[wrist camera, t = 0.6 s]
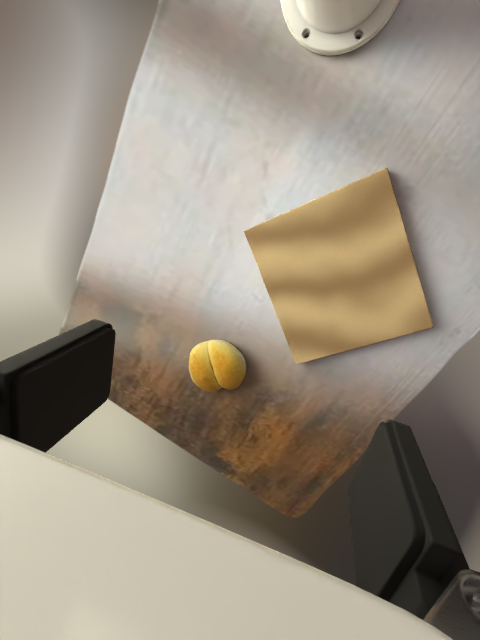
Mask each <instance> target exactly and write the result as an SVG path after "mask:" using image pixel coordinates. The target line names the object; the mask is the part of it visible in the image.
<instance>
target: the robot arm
mask: <svg viewBox="0 0 480 640" xmlns="http://www.w3.org/2000/svg"><path fill="white" fill-rule="evenodd" d="M399 1H400V0H281V6H282V11H283V15H284V18H285V21H286V25H287V27H288V28H289V30H290V32H291V34H292V36H293V37H294V38H295V39H296V40H297V41H298V42H299V44H301V45H302V46H303V47H305V48H306V49H308V50H310V51H312V52H314V53H317V54H322V55H340V54H344V53H347V52H350V51H353V50H355V49H357V48H359V47H361V46H362V45H364V44H365V43H367V42H368V41H369V40H371V39H372V38H373V37H374V36H375V35H376V34H377V33H378V32H379V31H380V30H381V29H382V28H383V27H384V26H385V24H386V23H387V22H388V20H389V19H390V17H391V16H392V15H393V13H394V11H395V9H396V7H397V5H398V3H399ZM306 35H307V36H309V37H308V38H306V39H305V38H304V37H305V36H306ZM357 36H360V38H361V39H356V37H357ZM114 344H115V330H113V328H112V325H111V324H108V323H105V322H102V321H99V320H96V319H94V320H91V321H89V322H87V323H85V324H83V325H80V326H78V327H76V328H74V329H72V330H69V331H67V332H65V333H63V334H61V335H58V336H56V337H54V338H52V339H49V340H47V341H45V342H43V343H41V344H38V345H36V346H34V347H32V348H30V349H27V350H25V351H23V352H21V353H19V354H16V355H14V356H12V357H10V358H7V359H5V360H3V361H1V362H0V640H480V572H476V571H473V570H470V569H469V567H468V564H467V562H466V559H465V557H464V554H463V552H462V550H461V547H460V545H459V542H458V540H457V537H456V535H455V533H454V530H453V528H452V525H451V523H450V520H449V519H448V516H447V513H446V511H445V508H444V506H443V503H442V501H441V499H440V496H439V494H438V491H437V489H436V486H435V485H434V483H433V481H432V479H431V476H430V474H429V471H428V469H427V467H426V464H425V462H424V459H423V457H422V455H421V452H420V449H419V447H418V445H417V442H416V440H415V437H414V435H413V432H412V430H411V428H410V426H408V425H405V424H402V423H399V422H396V421H393V420H388V421H387V422H386V423H385V422H381V423H380V424H379V426H378V428H377V430H376V432H375V434H374V436H373V438H372V440H371V442H370V444H369V446H368V448H367V450H366V452H365V454H364V456H363V458H362V460H361V462H360V465H359V467H358V469H357V471H356V473H355V475H354V477H353V479H352V481H351V483H350V486H349V490H348V500H349V512H350V524H351V534H352V535H351V536H352V548H353V559H354V570H355V582H356V586H354V585H352V584H350V583H348V582H345V581H343V580H341V579H339V578H336V577H334V576H332V575H330V574H327V573H325V572H323V571H321V570H318V569H316V568H314V567H312V566H310V565H307V564H305V563H303V562H301V561H298V560H296V559H294V558H291V557H289V556H287V555H284V554H282V553H280V552H277V551H275V550H273V549H271V548H268V547H266V546H264V545H261V544H259V543H257V542H254V541H252V540H250V539H247V538H245V537H243V536H240V535H238V534H236V533H233V532H231V531H229V530H227V529H224V528H222V527H220V526H217V525H215V524H213V523H210V522H208V521H206V520H203V519H201V518H198V517H196V516H194V515H192V514H189V513H187V512H185V511H182V510H180V509H177V508H175V507H173V506H170V505H168V504H166V503H164V502H161V501H159V500H156V499H154V498H152V497H149V496H147V495H145V494H142V493H140V492H138V491H135V490H133V489H131V488H128V487H126V486H123V485H121V484H119V483H116V482H114V481H112V480H109V479H107V478H105V477H102V476H100V475H97V474H95V473H92V472H90V471H88V470H85V469H83V468H81V467H78V466H76V465H73V464H71V463H69V462H66V461H64V460H61V459H59V458H57V457H54V456H52V455H49V454H47V453H46V452H47V451H48V450H49V449H50V448H51V447H53V446H54V445H55V444H56V443H57V442H58V441H60V440H61V439H62V438H63V437H64V436H65V435H67V434H68V433H69V432H70V431H71V430H73V429H74V428H75V427H76V426H77V425H78V424H80V423H81V422H82V421H83V420H84V419H85V418H87V417H88V416H89V415H90V414H91V413H92V412H94V411H95V410H96V409H97V408H98V407H99V406H101V405H102V404H103V403H104V402H105V401H106V400H107V398H108V396H109V393H110V385H111V375H112V365H113V355H114Z"/></svg>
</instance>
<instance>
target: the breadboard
mask: <svg viewBox="0 0 480 640" xmlns="http://www.w3.org/2000/svg"><path fill="white" fill-rule="evenodd" d="M244 232H245V235H246V238H247V240H248V243H249V245H250V248H251V250H252V253H253V255H254V258H255V260H256V263H257V265H258V268H259V271H260V273H261V276H262V278H263V281H264V283H265V286H266V288H267V291H268V293H269V296H270V299H271V301H272V304H273V306H274V309H275V311H276V314H277V316H278V319H279V321H280V324H281V326H282V329H283V332H284V334H285V337H286V339H287V342H288V344H289V347H290V349H291V352H292V354H293V357H294V359H295V362H296V364H300V363H303V362H307V361H311V360H315V359H318V358H322V357H326V356H329V355H333V354H337V353H340V352H344V351H348V350H352V349H355V348H359V347H363V346H366V345H370V344H374V343H377V342H381V341H385V340H388V339H392V338H396V337H400V336H403V335H407V334H411V333H414V332H418V331H422V330H425V329H429V328H433V323H432V320H431V316H430V313H429V310H428V306H427V303H426V299H425V296H424V293H423V289H422V286H421V282H420V279H419V275H418V272H417V269H416V265H415V262H414V258H413V255H412V251H411V248H410V245H409V241H408V238H407V234H406V231H405V227H404V224H403V221H402V217H401V214H400V210H399V207H398V203H397V200H396V197H395V193H394V190H393V186H392V183H391V180H390V176H389V173H388V169H387V168H385V169H383V170H380V171H378V172H376V173H374V174H371V175H369V176H367V177H365V178H362V179H360V180H358V181H356V182H353V183H351V184H349V185H347V186H344V187H342V188H340V189H338V190H335V191H333V192H331V193H329V194H326V195H324V196H322V197H320V198H317V199H315V200H313V201H311V202H308V203H306V204H304V205H301V206H299V207H297V208H295V209H292V210H290V211H288V212H286V213H283V214H281V215H279V216H277V217H274V218H272V219H270V220H268V221H265V222H263V223H261V224H259V225H256V226H254V227H252V228H250V229H247V230H245V231H244Z"/></svg>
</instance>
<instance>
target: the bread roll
mask: <svg viewBox="0 0 480 640" xmlns="http://www.w3.org/2000/svg"><path fill="white" fill-rule="evenodd" d="M189 371H190V375H191V378H192V381H193V382H194V383H195V384H196V385H197V386H198V387H199V388H201V389H203V390H205V391H209V392H213V391H217V390H219V389H221V388H222V387H223V388H225V389H229V390H230V389H235V388H237V387H238V386H239V385H240V384H241V383H242V381H243V379H244V376H245V373H246V362H245V359H244V357H243V355H242V354H241V353H240V351H239V350H238V349H237V348H236V347H234V346H233V345H232V344H230V343H228V342H226V341H222V340H210V341H208V342H202V343H200V344H198V345H197V346H195V347H194V348H193V349H192V351H191V354H190V358H189Z"/></svg>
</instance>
